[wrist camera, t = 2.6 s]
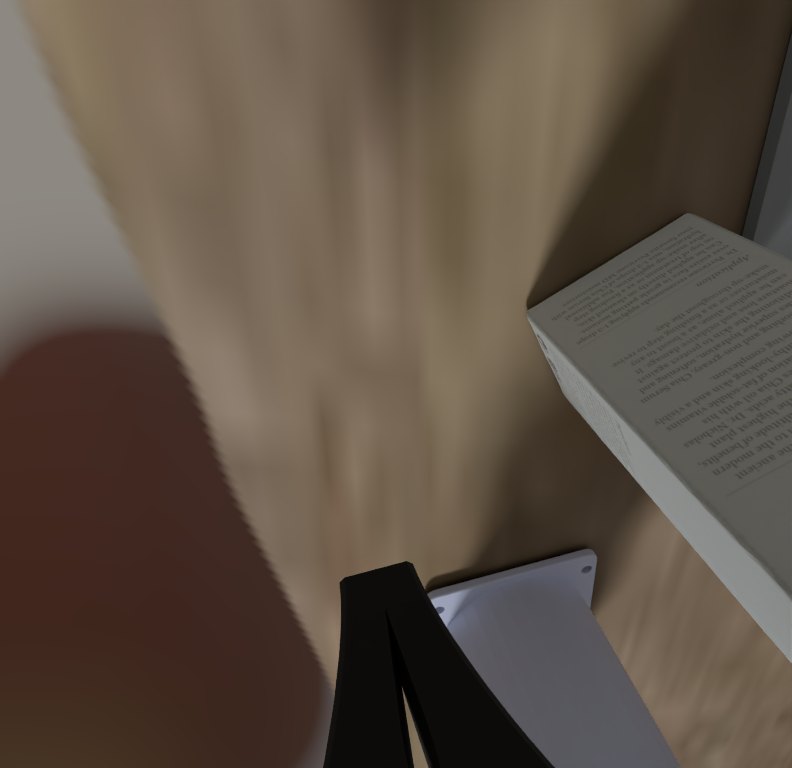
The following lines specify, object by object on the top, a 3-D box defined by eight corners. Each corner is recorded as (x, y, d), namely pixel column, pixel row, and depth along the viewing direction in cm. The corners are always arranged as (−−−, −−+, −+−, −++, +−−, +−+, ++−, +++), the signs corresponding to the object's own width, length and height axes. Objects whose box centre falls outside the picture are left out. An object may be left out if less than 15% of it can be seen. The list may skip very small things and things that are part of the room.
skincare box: (561, 395, 21) (844, 743, 11) (520, 308, 18) (836, 657, 9) (714, 306, 20) (1157, 594, 10) (692, 204, 18) (1245, 455, 8)
